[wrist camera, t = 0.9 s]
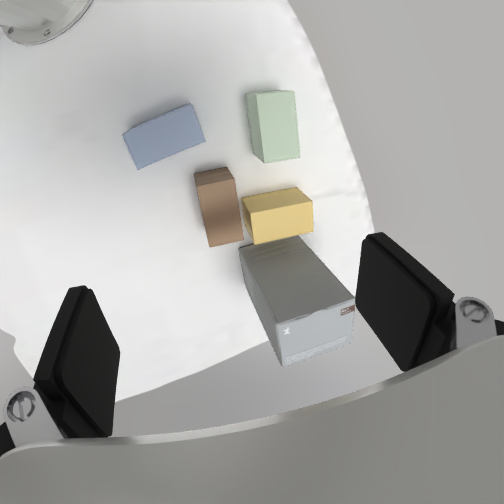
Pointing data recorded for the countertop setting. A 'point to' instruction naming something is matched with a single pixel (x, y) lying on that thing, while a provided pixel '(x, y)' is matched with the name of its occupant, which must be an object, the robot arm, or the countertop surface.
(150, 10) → the countertop surface
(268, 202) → the ochre brick
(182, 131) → the slate brick
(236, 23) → the countertop surface
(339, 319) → the skincare box
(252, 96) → the sage brick
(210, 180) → the walnut brick
